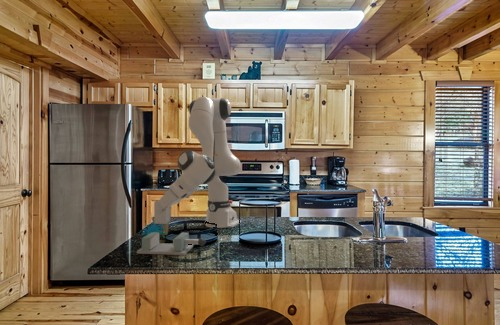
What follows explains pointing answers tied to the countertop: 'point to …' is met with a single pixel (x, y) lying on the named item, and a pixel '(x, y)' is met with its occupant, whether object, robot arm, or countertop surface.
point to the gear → (154, 230)
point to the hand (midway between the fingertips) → (160, 210)
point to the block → (161, 215)
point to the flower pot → (162, 226)
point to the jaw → (186, 241)
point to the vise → (159, 246)
